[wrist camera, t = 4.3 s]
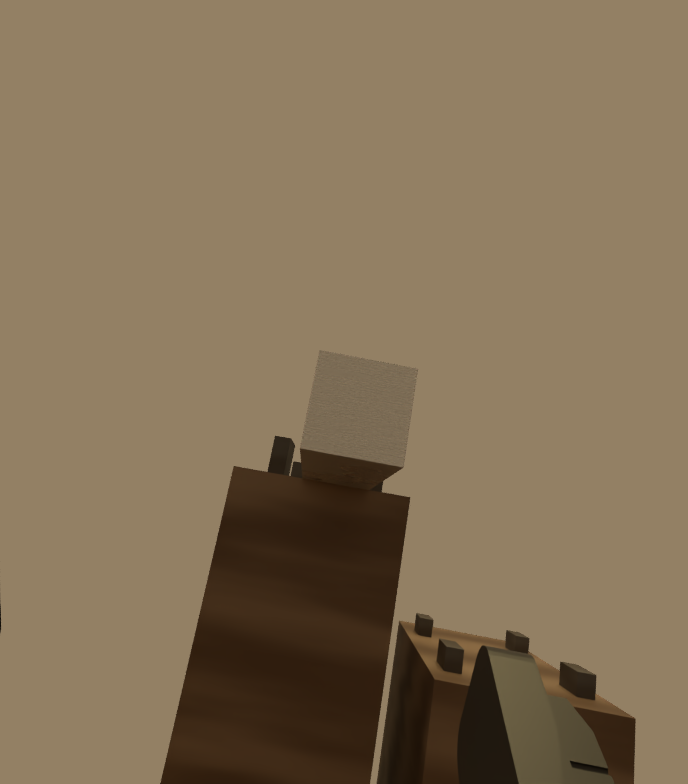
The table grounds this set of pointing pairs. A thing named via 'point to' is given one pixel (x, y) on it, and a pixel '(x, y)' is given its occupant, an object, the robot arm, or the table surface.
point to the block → (356, 421)
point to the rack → (333, 649)
